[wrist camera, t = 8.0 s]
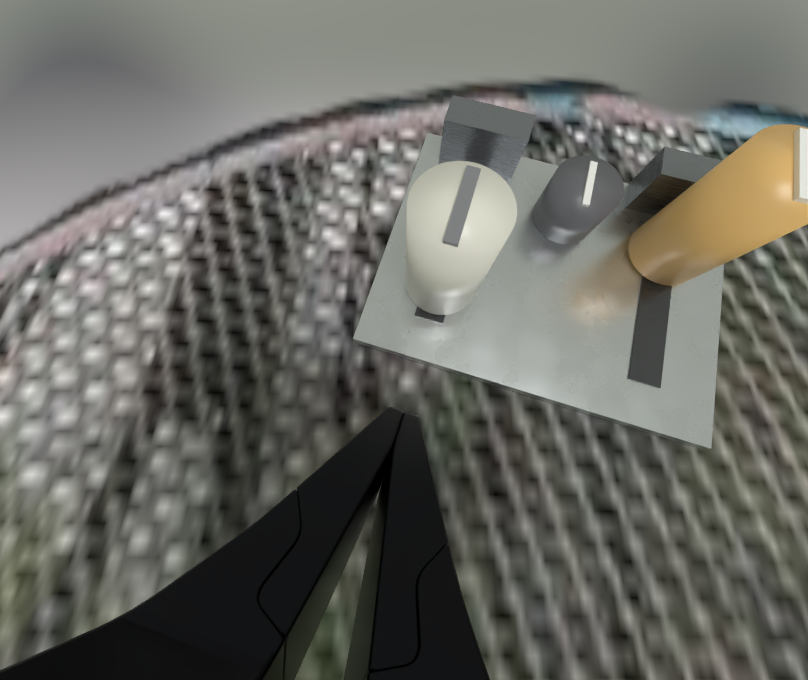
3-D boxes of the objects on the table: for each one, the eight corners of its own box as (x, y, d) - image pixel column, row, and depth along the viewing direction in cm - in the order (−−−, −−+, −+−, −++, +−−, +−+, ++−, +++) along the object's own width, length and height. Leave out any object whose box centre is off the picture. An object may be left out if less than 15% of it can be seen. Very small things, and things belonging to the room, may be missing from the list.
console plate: (691, 446, 18) (774, 455, 14) (355, 343, 20) (343, 324, 16) (710, 219, 22) (780, 174, 18) (426, 146, 23) (431, 90, 19)
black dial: (587, 251, 20) (620, 221, 17) (526, 234, 20) (548, 202, 17) (597, 200, 21) (630, 163, 18) (538, 185, 21) (561, 146, 18)
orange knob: (696, 294, 19) (866, 222, 12) (623, 274, 19) (749, 193, 12) (701, 233, 20) (862, 134, 13) (632, 215, 20) (754, 109, 13)
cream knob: (466, 324, 18) (504, 267, 11) (396, 303, 19) (392, 235, 12) (484, 260, 19) (529, 172, 12) (417, 241, 20) (424, 145, 13)
